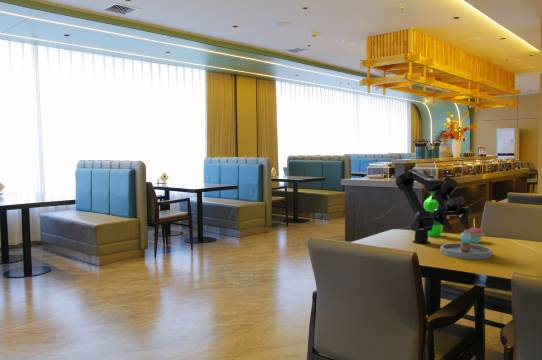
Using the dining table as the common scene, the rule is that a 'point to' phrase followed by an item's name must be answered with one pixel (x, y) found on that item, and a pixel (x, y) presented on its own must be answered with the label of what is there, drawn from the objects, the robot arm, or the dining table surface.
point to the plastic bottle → (431, 206)
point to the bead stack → (465, 242)
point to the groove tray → (476, 250)
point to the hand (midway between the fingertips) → (459, 229)
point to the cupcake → (475, 233)
